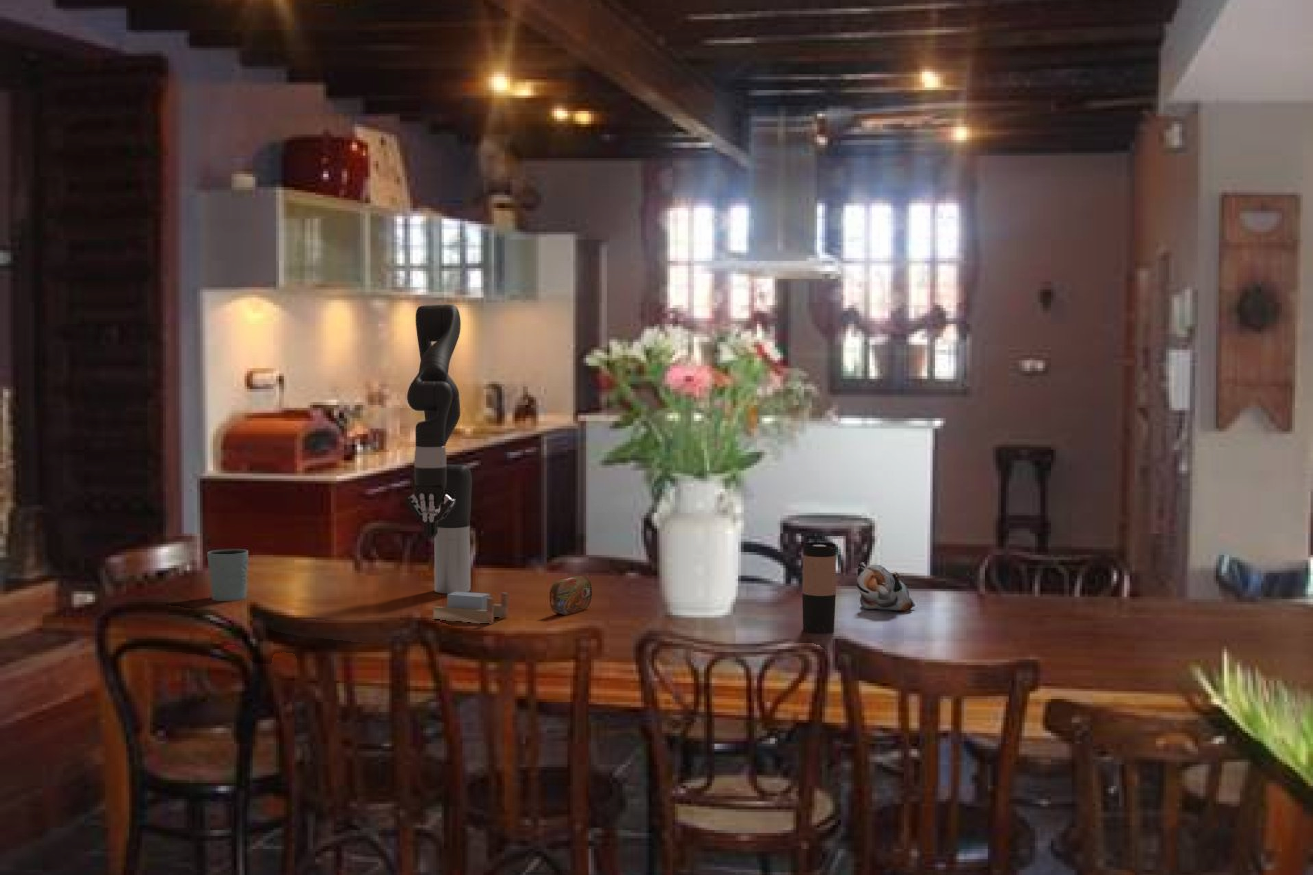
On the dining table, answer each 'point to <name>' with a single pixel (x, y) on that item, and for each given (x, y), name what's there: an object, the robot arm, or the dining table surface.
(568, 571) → the dining table surface
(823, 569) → the travel mug
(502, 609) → the chute
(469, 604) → the block
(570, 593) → the tin
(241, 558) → the grey tapered cup
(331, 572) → the dining table surface
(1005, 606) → the dining table surface
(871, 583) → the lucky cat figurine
